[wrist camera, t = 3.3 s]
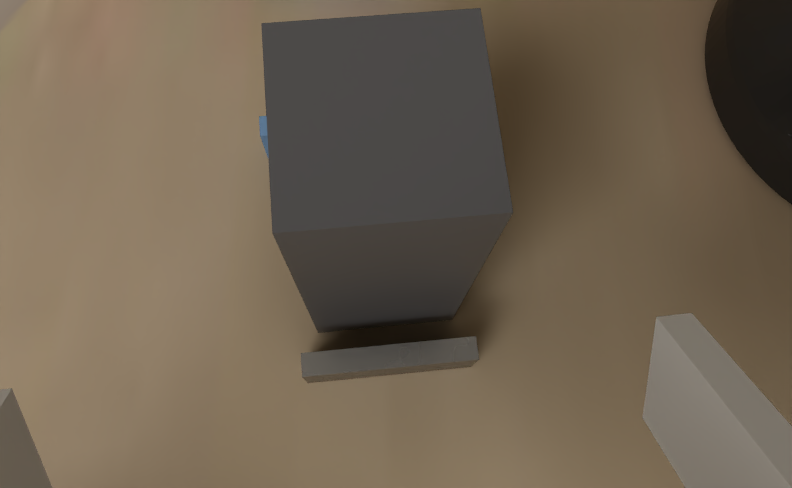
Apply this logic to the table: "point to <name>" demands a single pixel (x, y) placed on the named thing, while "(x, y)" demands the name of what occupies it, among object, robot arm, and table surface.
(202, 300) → the table surface
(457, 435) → the table surface
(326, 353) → the pair of grey bars
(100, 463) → the table surface
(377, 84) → the dark grey rectangular block
